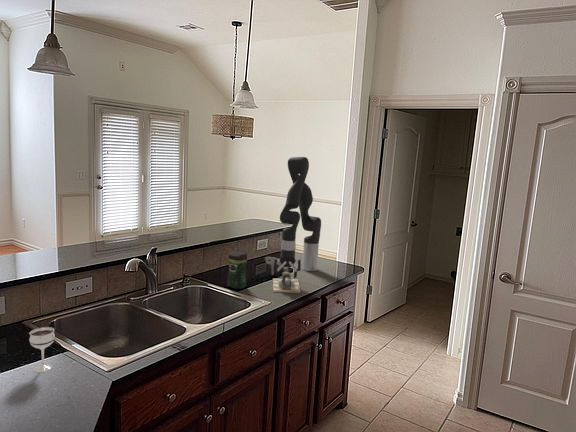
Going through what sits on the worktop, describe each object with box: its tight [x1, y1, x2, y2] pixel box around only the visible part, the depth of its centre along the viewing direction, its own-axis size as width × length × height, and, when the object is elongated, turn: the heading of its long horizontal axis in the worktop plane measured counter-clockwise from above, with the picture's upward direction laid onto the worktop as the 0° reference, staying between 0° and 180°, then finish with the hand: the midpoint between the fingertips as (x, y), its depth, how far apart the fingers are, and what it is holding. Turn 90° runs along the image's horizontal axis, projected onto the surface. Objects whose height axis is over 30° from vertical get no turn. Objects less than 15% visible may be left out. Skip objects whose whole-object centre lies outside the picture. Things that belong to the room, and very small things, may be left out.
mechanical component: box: [264, 256, 281, 276], centre depth 242 cm, size 3×10×10 cm, turn 78°
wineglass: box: [28, 326, 56, 373], centre depth 128 cm, size 7×7×12 cm
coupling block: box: [281, 271, 292, 283], centre depth 222 cm, size 4×4×7 cm
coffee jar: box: [226, 250, 248, 290], centre depth 216 cm, size 10×8×19 cm
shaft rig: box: [272, 267, 301, 294], centre depth 222 cm, size 29×14×9 cm, turn 3°
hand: (286, 277), depth 222 cm, fingers open, 8 cm apart
